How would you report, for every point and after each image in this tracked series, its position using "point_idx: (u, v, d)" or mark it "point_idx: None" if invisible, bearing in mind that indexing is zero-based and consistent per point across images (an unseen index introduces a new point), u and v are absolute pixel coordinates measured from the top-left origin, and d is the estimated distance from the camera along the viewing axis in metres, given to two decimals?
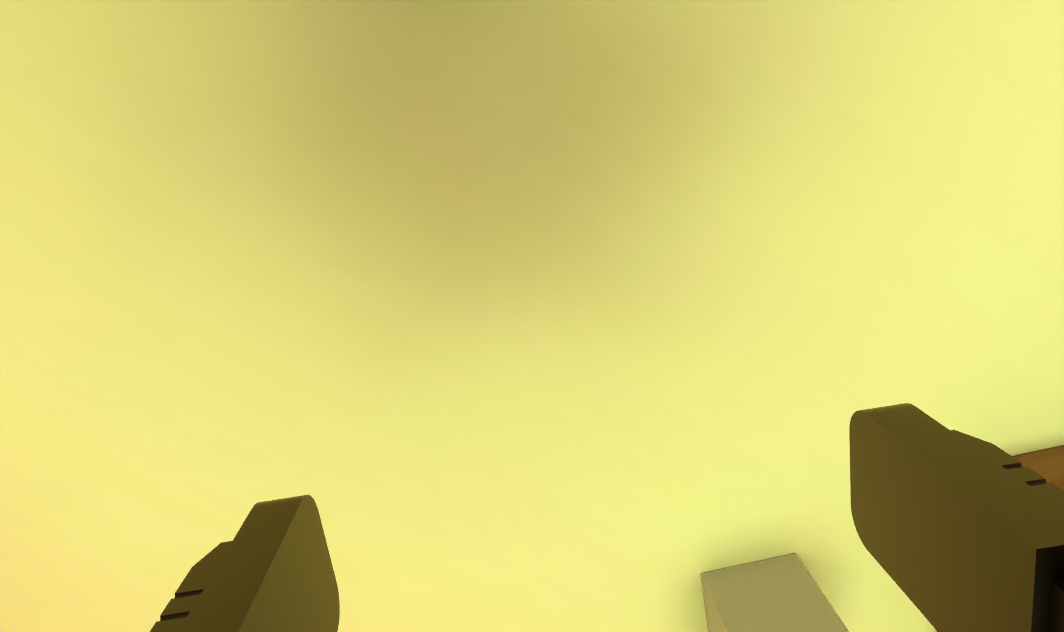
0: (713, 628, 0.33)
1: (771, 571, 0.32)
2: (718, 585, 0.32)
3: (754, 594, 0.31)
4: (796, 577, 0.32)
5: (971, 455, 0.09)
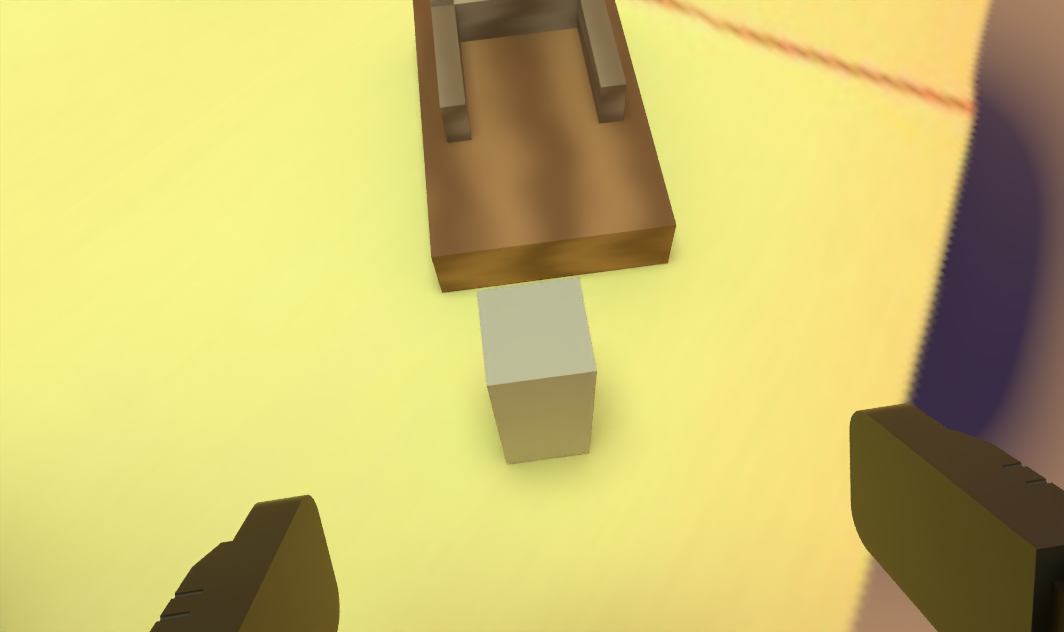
0: (546, 452, 0.38)
1: None
2: None
3: None
4: None
5: (971, 455, 0.09)
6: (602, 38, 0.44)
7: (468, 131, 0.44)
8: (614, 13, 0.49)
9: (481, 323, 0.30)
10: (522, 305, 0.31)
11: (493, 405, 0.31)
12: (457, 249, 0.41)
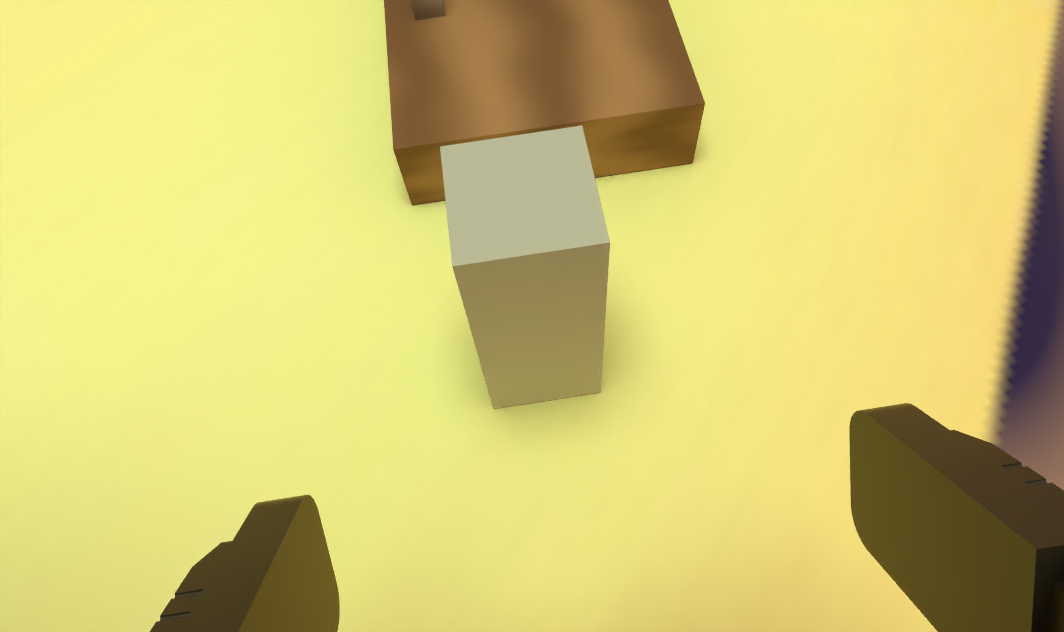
0: (544, 390, 0.29)
1: None
2: None
3: None
4: None
5: (971, 455, 0.09)
6: None
7: (440, 3, 0.35)
8: None
9: (445, 186, 0.22)
10: (502, 162, 0.22)
11: (465, 304, 0.22)
12: (426, 140, 0.32)
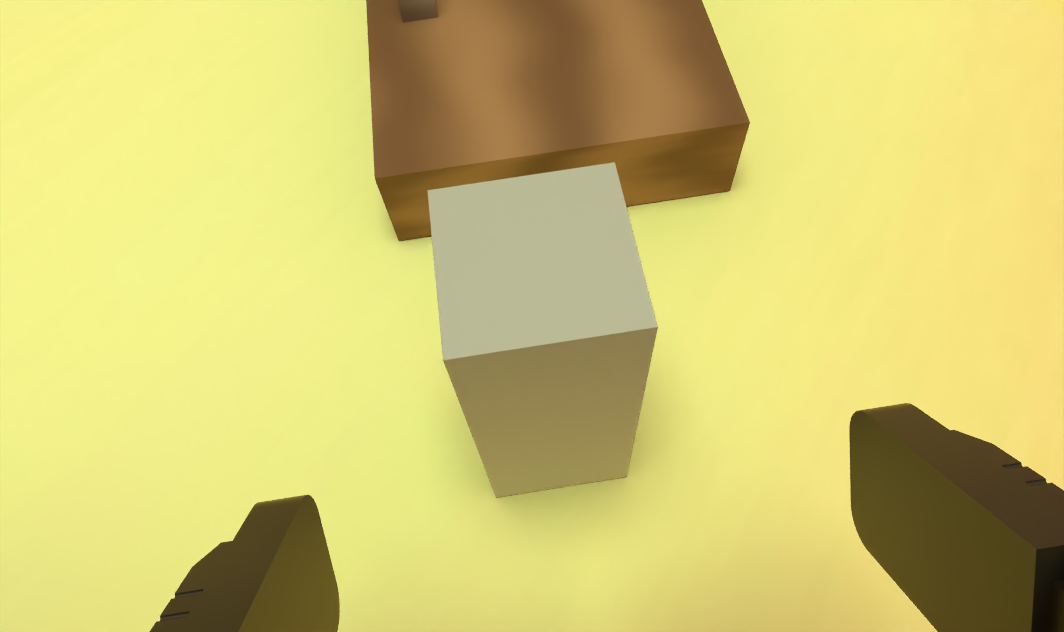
0: (559, 478, 0.23)
1: None
2: None
3: None
4: None
5: (971, 455, 0.09)
6: None
7: (432, 2, 0.30)
8: None
9: (434, 246, 0.16)
10: (510, 212, 0.17)
11: (461, 400, 0.17)
12: (414, 167, 0.26)
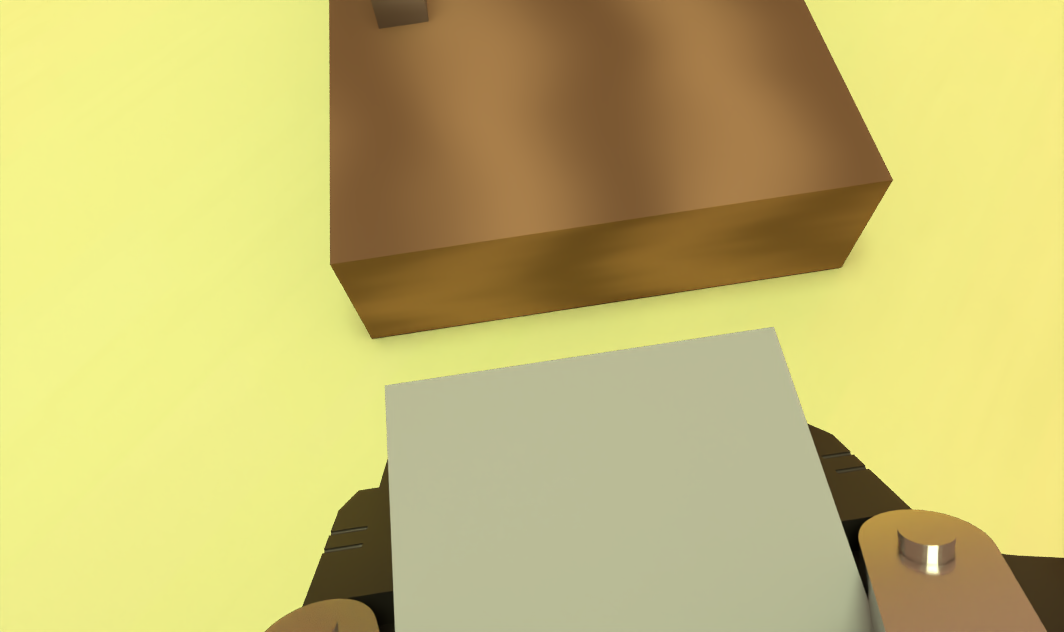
0: None
1: None
2: None
3: None
4: None
5: None
6: None
7: (420, 0, 0.21)
8: None
9: (396, 528, 0.07)
10: (560, 444, 0.08)
11: None
12: (390, 246, 0.18)
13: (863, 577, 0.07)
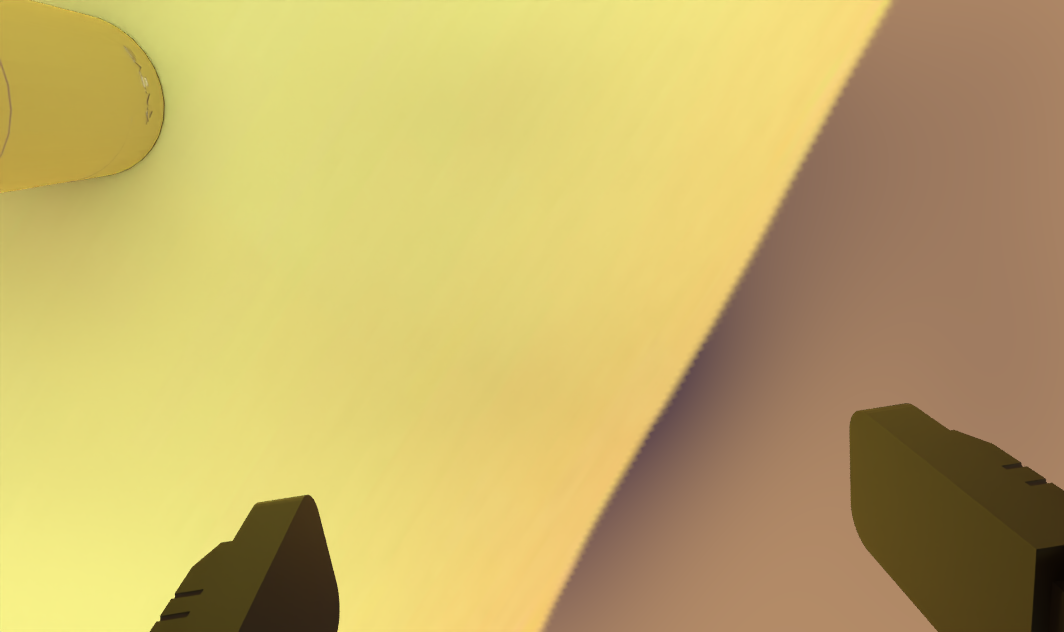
0: None
1: None
2: None
3: None
4: None
5: (971, 455, 0.09)
6: None
7: None
8: None
9: None
10: None
11: None
12: None
13: None
